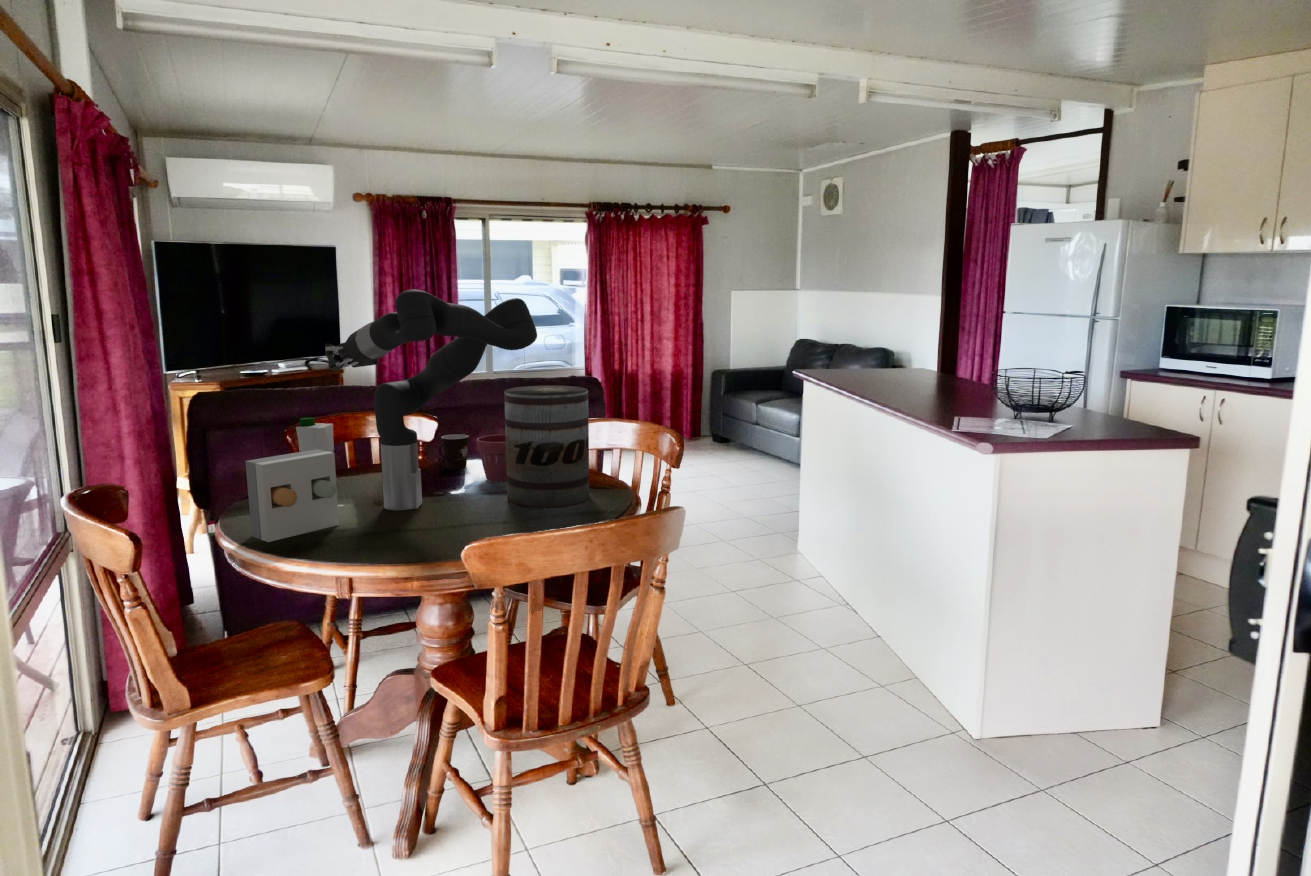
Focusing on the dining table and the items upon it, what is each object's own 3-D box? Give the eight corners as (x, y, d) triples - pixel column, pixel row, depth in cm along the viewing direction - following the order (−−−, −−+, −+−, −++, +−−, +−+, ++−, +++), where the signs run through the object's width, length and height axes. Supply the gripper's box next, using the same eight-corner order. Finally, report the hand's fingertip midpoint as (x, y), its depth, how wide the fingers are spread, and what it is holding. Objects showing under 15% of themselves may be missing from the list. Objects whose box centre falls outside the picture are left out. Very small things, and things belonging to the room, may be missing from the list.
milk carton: (310, 482, 253) (305, 415, 249) (340, 482, 252) (336, 416, 249) (297, 489, 244) (292, 420, 241) (328, 489, 244) (323, 420, 240)
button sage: (336, 496, 203) (335, 480, 202) (321, 499, 200) (320, 483, 199) (322, 492, 207) (321, 476, 206) (307, 496, 203) (306, 479, 203)
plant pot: (470, 477, 260) (469, 436, 258) (513, 472, 267) (512, 432, 265) (488, 486, 248) (487, 443, 246) (532, 480, 256) (531, 438, 253)
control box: (338, 524, 208) (334, 452, 205) (268, 542, 194) (262, 464, 191) (322, 519, 212) (317, 449, 209) (251, 536, 198) (245, 460, 195)
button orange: (297, 504, 195) (296, 488, 194) (281, 508, 192) (280, 491, 191) (283, 501, 199) (282, 484, 198) (267, 504, 196) (266, 487, 195)
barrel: (546, 513, 219) (543, 397, 214) (490, 499, 234) (486, 390, 228) (606, 497, 236) (605, 389, 231) (550, 484, 251) (548, 383, 245)
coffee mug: (462, 463, 280) (461, 433, 279) (474, 467, 274) (473, 437, 272) (429, 467, 273) (427, 437, 271) (441, 472, 267) (439, 441, 265)
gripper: (399, 332, 190) (358, 356, 200) (343, 319, 180) (303, 345, 190) (400, 363, 188) (359, 386, 198) (344, 352, 178) (304, 376, 189)
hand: (332, 366), depth 194 cm, fingers closed
